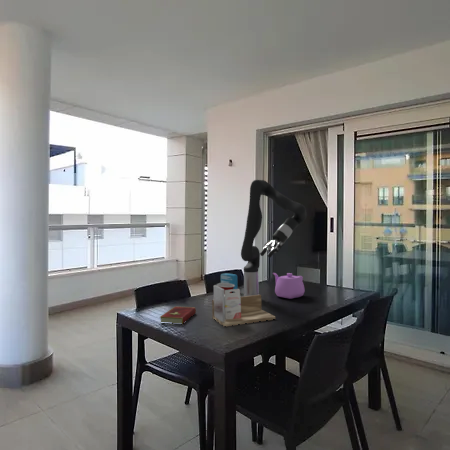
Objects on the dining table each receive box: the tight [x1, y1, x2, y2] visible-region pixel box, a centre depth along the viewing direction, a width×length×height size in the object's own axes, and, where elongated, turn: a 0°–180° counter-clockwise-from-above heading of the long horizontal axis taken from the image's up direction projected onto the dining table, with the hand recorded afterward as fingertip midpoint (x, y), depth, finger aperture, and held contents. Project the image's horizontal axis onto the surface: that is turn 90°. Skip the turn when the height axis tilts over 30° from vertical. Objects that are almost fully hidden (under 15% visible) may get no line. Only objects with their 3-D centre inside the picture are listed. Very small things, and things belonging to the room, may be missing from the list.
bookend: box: [213, 284, 225, 322], centre depth 180 cm, size 12×1×16 cm, turn 22°
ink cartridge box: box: [224, 288, 241, 320], centre depth 182 cm, size 9×5×15 cm, turn 109°
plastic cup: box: [216, 282, 235, 294], centre depth 217 cm, size 11×11×12 cm
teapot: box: [272, 272, 306, 300], centre depth 237 cm, size 23×21×15 cm
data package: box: [220, 273, 239, 293], centre depth 253 cm, size 12×4×12 cm, turn 48°
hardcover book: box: [159, 306, 197, 325], centre depth 188 cm, size 12×21×4 cm, turn 167°
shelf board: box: [211, 294, 276, 327], centre depth 185 cm, size 16×28×10 cm, turn 112°
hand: (264, 255), depth 197 cm, fingers open, 8 cm apart
